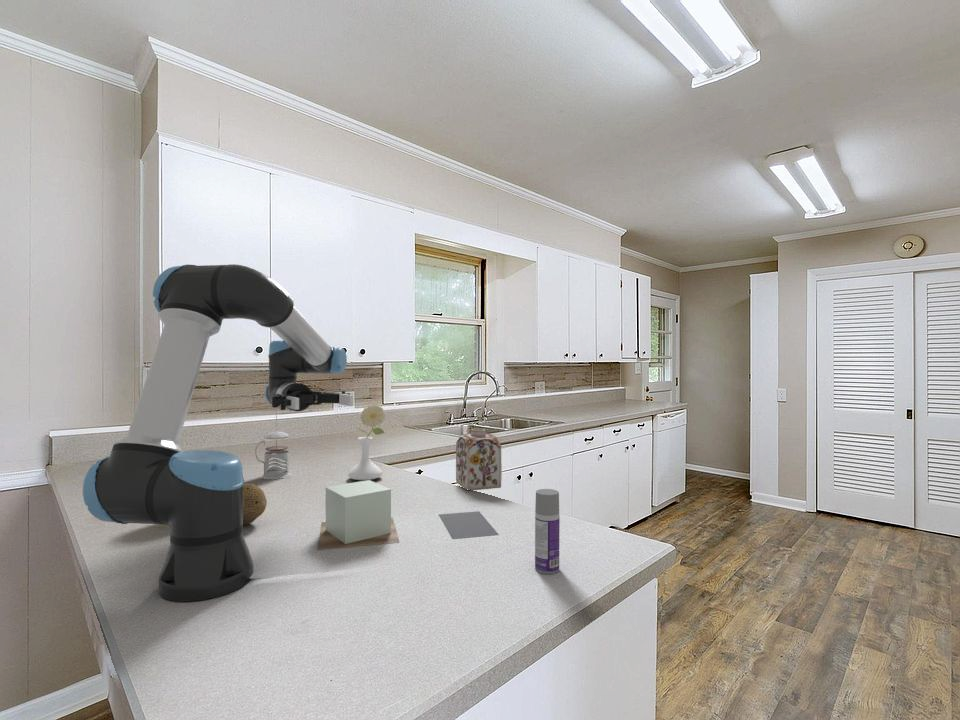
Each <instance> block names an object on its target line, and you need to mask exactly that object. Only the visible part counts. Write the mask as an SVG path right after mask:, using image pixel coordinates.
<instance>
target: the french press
mask: <svg viewBox="0 0 960 720" xmlns="http://www.w3.org/2000/svg"><path fill="white" fill-rule="evenodd" d="M277 408H278V407H276V408H275V431H272V432H268V433H267V434H266V435H264V436H263V438H264V439H265V440H275V444H276V445H272V446H268V447H265V451H266V452H264V460H261V459H260V458H259V457H258V455H257V448H258V447H259V445H260V444H262V443H263V445H264V446H265V445H266V441H265V440H261V441H260V442H258V444H257V445H256V447H255V449H254V453H255V454H254V455H255V458H256V460H257V461H258V462H259V463H262V464H263V474H262V476H261V477H262V478H264V479H263V480H270V479H271V480H280V479H279V478H283V479H286V478H285V477H287V478H289V476H290V477H291V476H292V473H290V471H289V470H290V469H289V467H290V466H289V465H290V463H289V462H290V461H289V460H290V459H289V458H290V457H289V450H287V449H288V448H289V447H288V446H286V445H278V440H281V439H282V440H283V439H286V438H289V437H290V435H289V434H288V433H286V432H284V431H278V419H277V418H278V409H277ZM262 478H261V479H262Z"/></svg>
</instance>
